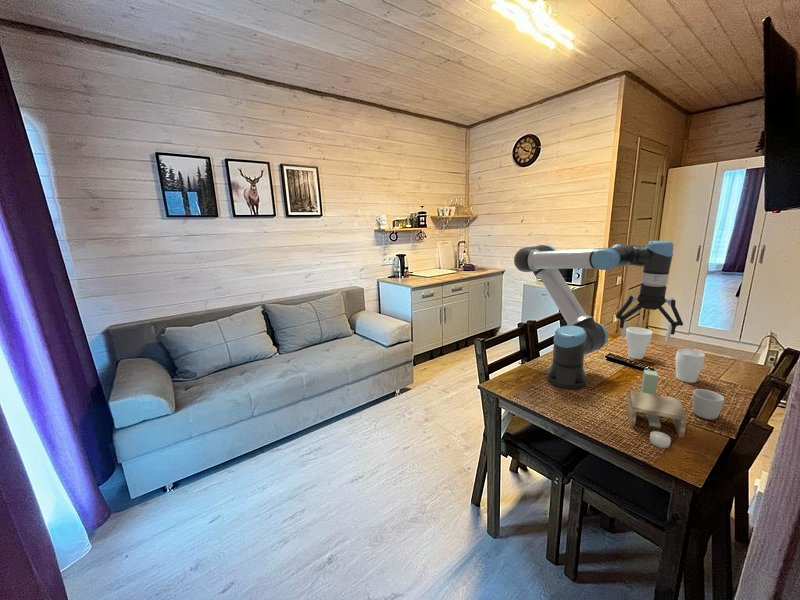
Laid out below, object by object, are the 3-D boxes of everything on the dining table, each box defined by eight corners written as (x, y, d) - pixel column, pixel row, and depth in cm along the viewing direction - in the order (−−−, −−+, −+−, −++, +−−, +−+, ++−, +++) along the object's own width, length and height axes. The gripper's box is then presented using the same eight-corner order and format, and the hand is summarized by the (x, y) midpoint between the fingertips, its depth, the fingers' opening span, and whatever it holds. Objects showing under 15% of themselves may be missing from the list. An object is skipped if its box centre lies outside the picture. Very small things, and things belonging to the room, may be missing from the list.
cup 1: (617, 354, 167) (620, 328, 164) (633, 351, 170) (636, 326, 167) (637, 362, 158) (641, 335, 154) (654, 359, 161) (658, 332, 157)
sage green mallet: (647, 425, 113) (651, 395, 110) (640, 395, 131) (643, 369, 128) (662, 428, 111) (667, 398, 108) (652, 397, 129) (656, 371, 126)
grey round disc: (651, 446, 103) (652, 439, 103) (647, 436, 108) (648, 429, 107) (671, 450, 101) (673, 443, 101) (666, 439, 106) (668, 433, 105)
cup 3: (689, 403, 124) (692, 383, 122) (718, 410, 119) (722, 389, 117) (689, 417, 116) (693, 396, 114) (721, 425, 111) (725, 403, 109)
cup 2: (705, 384, 136) (710, 357, 133) (680, 383, 138) (684, 356, 135) (691, 374, 145) (696, 348, 142) (667, 373, 146) (671, 347, 143)
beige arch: (630, 426, 113) (632, 406, 111) (627, 408, 123) (629, 390, 121) (683, 437, 106) (687, 417, 104) (675, 417, 116) (679, 398, 114)
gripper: (613, 283, 125) (605, 336, 130) (701, 289, 112) (688, 348, 118) (613, 279, 131) (606, 330, 137) (696, 285, 118) (684, 341, 124)
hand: (644, 339), depth 127 cm, fingers open, 13 cm apart
